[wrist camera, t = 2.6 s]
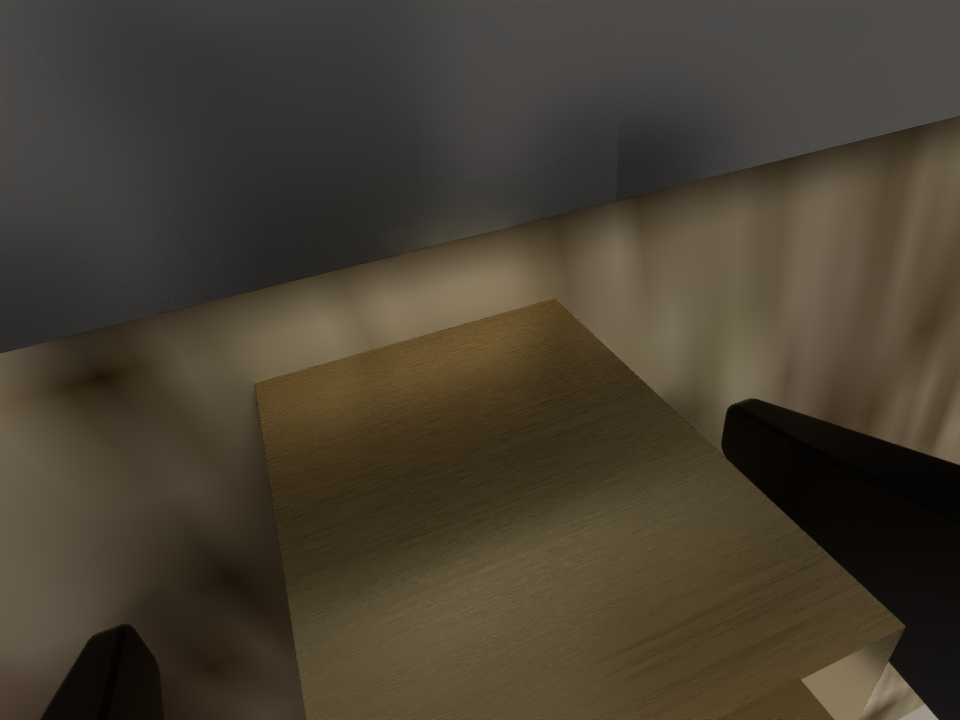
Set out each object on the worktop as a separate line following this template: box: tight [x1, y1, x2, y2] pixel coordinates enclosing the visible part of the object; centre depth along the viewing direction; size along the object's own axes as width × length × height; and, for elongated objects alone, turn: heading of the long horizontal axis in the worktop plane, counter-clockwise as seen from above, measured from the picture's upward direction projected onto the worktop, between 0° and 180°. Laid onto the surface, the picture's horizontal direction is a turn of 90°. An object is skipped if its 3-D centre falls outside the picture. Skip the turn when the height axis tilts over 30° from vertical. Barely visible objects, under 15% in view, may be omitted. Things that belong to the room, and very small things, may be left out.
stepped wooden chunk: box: [255, 298, 906, 720], centre depth 8 cm, size 4×5×7 cm
